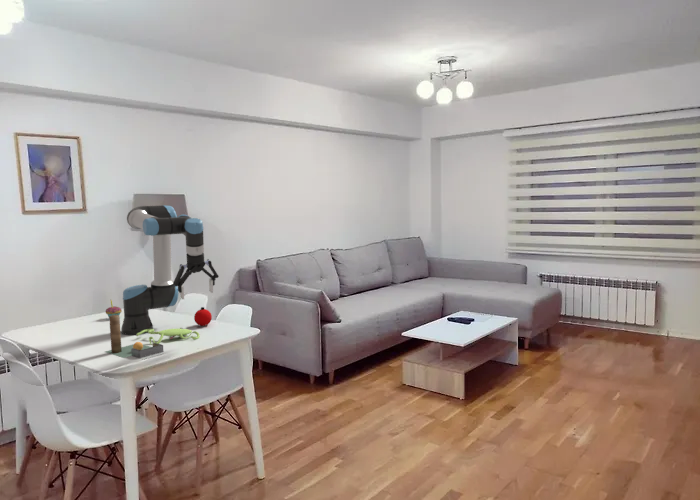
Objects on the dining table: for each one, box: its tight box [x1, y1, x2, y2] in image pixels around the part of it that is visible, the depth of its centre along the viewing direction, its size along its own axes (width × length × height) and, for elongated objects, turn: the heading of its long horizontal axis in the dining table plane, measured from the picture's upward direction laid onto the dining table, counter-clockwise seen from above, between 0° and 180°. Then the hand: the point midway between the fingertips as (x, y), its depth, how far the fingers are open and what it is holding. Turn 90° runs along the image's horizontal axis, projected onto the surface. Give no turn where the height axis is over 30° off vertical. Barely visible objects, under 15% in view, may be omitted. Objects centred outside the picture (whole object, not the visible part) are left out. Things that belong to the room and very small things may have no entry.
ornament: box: [193, 306, 213, 327], centre depth 270 cm, size 9×9×10 cm
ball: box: [132, 341, 144, 350], centre depth 222 cm, size 4×4×4 cm
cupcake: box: [105, 299, 123, 318], centre depth 291 cm, size 9×8×12 cm
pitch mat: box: [104, 343, 152, 359], centre depth 224 cm, size 16×16×1 cm
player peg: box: [108, 315, 122, 353], centre depth 221 cm, size 4×4×16 cm
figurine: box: [136, 327, 201, 345], centre depth 245 cm, size 18×27×6 cm
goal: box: [131, 342, 164, 359], centre depth 218 cm, size 6×11×4 cm, turn 144°
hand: (197, 294), depth 234 cm, fingers open, 13 cm apart
